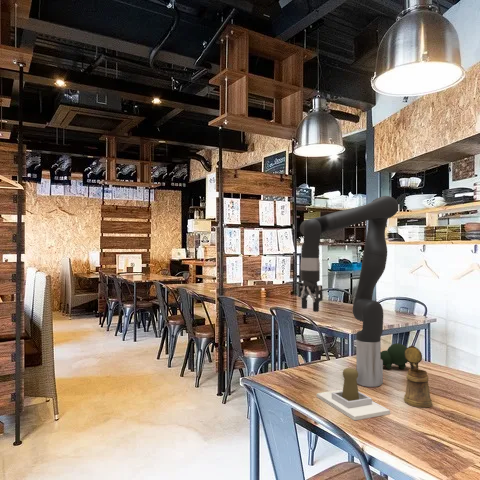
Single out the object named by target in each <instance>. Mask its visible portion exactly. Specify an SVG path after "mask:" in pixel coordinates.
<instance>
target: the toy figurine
mask: <svg viewBox="0 0 480 480" xmlns="http://www.w3.org/2000/svg"><path fill="white" fill-rule="evenodd" d="M407 348H408V347H407V346H406V345H404V344H402V343H400V342H399V343H398V342H397V343H396V342H395V343H393V344H391V345H389V346H388V348H387V349H385V350H382V351H381V359H382V360H383V367H385V368H386V369H387V370H390V369H392V366H393V365H396V366H398V369H400V370H406V368H407V363H409V362H408V361H407V360H406V359H405V354H404V353H405V350H406V349H407Z"/></svg>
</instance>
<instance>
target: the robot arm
mask: <svg viewBox="0 0 480 480" xmlns="http://www.w3.org/2000/svg"><path fill="white" fill-rule="evenodd" d="M398 210H399V204H398V201H397V200H396V199H395V198H394V197H392V196H390V195H383V196H380V197H377V198H375V199H373V200H372V201H371V202H369V203H366V204H362V205H359V206H357V207H351V208H347V209H343V210H338V211H335V212H331V213H330V212H329V213H328V214H325V215H321V216H318V217H313V218H310V219H305V220H303V221H302V222H301V224H300V225H299V232H300V234H302V236H303V243H302V245H301V252H300V253H301V254H300V255H301V257H300V258H301V259H300V281H301V282H298V288H297V289H298V290H297V291H298V292H297V296H298V298H300V300H301V309H304V310H305V309H308V298H309V297H310V298H311V299H312V312H314V313H317V312H319V311H320V302H322V301H323V300H324V299H323V297H324V296H323V295H324V294H323V285H322V284H320V285H318V282H320V281H321V280H320V279H321V278H320V275H321V274H320V273H321V268H320V267H321V265H320V264H321V263H320V244H321V243H320V242H321V236H322V234H323V233H327V232H333V231H337V230H342V229H344V228H347V227H350V226H353V225H358V224H359V223H362V222H366V221H367V231H366V237H365V242H364V249H363V253H362V259H361V268H360V274H359V280H358V285H357V289H356V293H355V297H354V301H353V304H352V315H353V317H354V318H355V319H356V320H357V321H359V322H362V328H361V330H359V331H357V332H356V336H355V337H356V343H355V344H356V346H355V347H356V348H355V349H356V356H355V358H356V368H355V369H356V370H357V371H358V378H357V385H358V386H363V387H369V388H370V387H371V388H375V387H379V386H381V385H383V384H384V383H383V382H384V377H383V376H384V373H383V372H384V371H383V369H384V365H383V360H382V359H381V352H382V351H381V346H382V345H381V338H382V335H383V331H384V309H383V306H382V304H381V303H380V302H378V301H377V300H373V295H374V290H375V287H376V285H377V283H378V282H379V280H380V279H381V278H382V275H384V271H386V270H385V269H386V267H387V266H386V265H387V261H388V260H387V259H388V247H387V246H388V245H387V241H386V227H387V222H388V219H390V218H393V217H394V216H395V215H396V214H397V212H398Z"/></svg>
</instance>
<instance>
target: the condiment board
mask: <svg viewBox="0 0 480 480" xmlns="http://www.w3.org/2000/svg"><path fill="white" fill-rule="evenodd" d="M342 393H343V389H337V390H331V391H330V390H329V391H325V392H318V393H316V397H317V398H318V399H319V400H321V401H322V402H325V403H326V404H328V406H331V408H334V409H335V410H337V411H338V412H340V413H342V414H343V415H345V416H347V417H348V418H350V419H351V420H352V421H361V420H366V419H370V418H376V417H381V416H386V415H391V409H389V408H387V407H385V406H383V405H381V404H379V403H377V402H375V401H374V400H373V398H372V397H370V396H368V395H366V394H365V393H363V392H360V391H359V390H358V393H359V400H353V401H348V400H346V399H344V398H342Z"/></svg>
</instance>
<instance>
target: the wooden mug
mask: <svg viewBox="0 0 480 480" xmlns="http://www.w3.org/2000/svg"><path fill="white" fill-rule="evenodd" d="M404 354H405V359H406V360H407V361H408V362H407V363H409V366H410V368H409V369H408V372H407V373H406V377H405V378H406V379H407V380H406V387H405V394H404V397H403V401H404V403H405V404H407V405H409V406H412V407H415V408H422V409H423V408H431V407H432V406H433V401H432V398H431V393H430V388H429V387H430V385H429V376H428V371H426V370H425V369H419V363H421V362H422V360H423V353H422V352H421V351H420V349H419V348H418V347H416V346H414V345H413V344H411V345H410V346H408V347H407V349H406V350H405V353H404Z"/></svg>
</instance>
